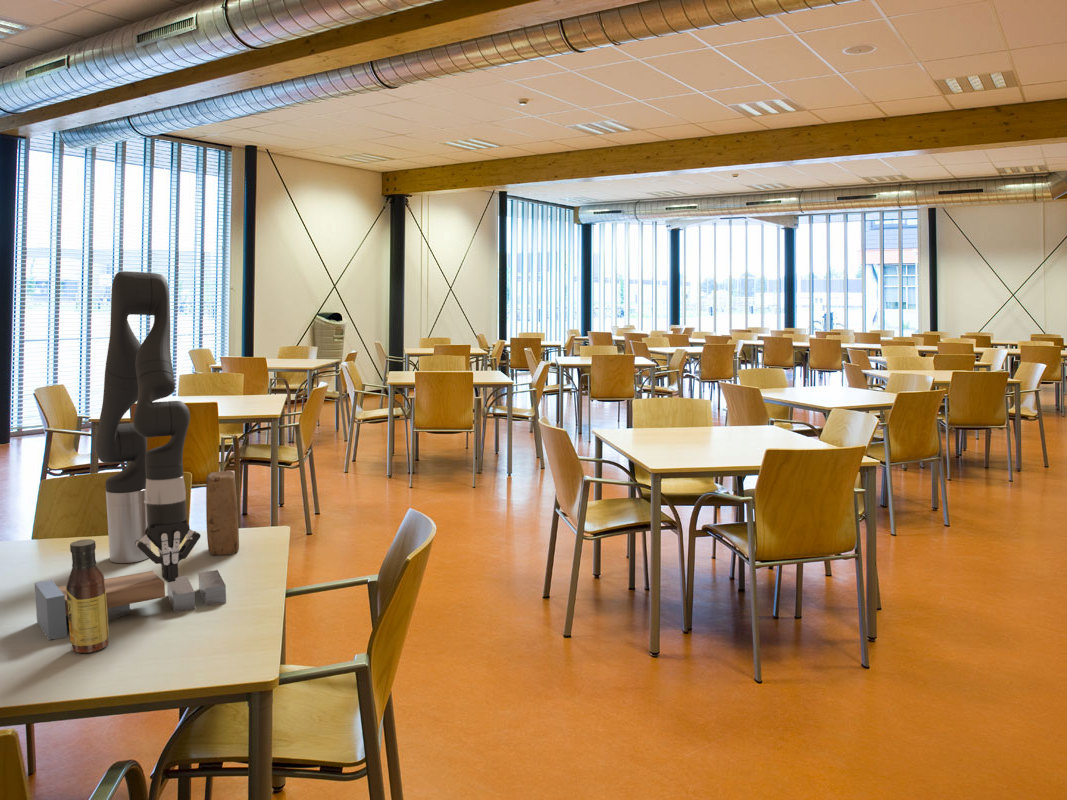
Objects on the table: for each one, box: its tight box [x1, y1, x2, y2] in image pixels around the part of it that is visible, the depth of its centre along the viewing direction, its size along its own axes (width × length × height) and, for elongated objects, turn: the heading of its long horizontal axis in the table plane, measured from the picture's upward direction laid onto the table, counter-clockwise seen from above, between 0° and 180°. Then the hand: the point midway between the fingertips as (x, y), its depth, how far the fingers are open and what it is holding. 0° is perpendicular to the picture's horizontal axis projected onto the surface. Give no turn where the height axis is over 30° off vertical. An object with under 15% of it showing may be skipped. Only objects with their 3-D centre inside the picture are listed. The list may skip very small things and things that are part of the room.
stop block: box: [34, 579, 68, 641], centre depth 168 cm, size 12×3×8 cm, turn 39°
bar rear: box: [197, 569, 227, 607], centre depth 187 cm, size 12×4×4 cm, turn 27°
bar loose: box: [66, 604, 131, 632], centre depth 173 cm, size 12×4×4 cm, turn 156°
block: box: [205, 470, 240, 556], centre depth 221 cm, size 11×8×20 cm
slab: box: [57, 570, 166, 616], centre depth 175 cm, size 10×18×3 cm, turn 126°
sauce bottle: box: [65, 538, 110, 654], centre depth 158 cm, size 7×6×20 cm
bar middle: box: [166, 575, 196, 614], centre depth 183 cm, size 12×4×4 cm, turn 28°
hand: (170, 580), depth 182 cm, fingers closed
